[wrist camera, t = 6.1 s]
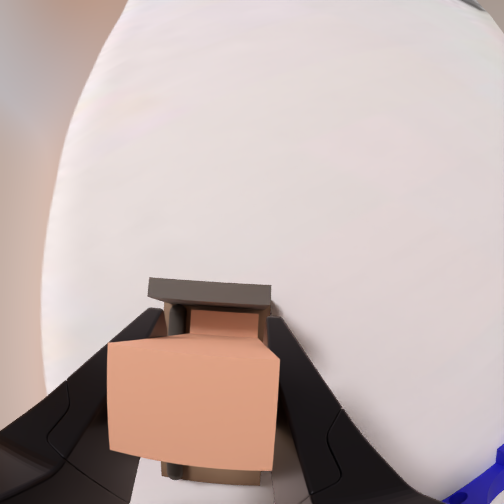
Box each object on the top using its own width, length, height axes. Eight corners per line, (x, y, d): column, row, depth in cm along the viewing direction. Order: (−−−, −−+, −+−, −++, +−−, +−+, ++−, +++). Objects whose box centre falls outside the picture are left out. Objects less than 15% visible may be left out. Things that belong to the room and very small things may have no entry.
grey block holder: (258, 476, 12) (263, 522, 8) (166, 468, 12) (142, 509, 8) (269, 297, 15) (279, 285, 10) (170, 291, 15) (141, 276, 10)
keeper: (253, 399, 12) (268, 512, 4) (191, 395, 12) (115, 491, 4) (257, 314, 13) (282, 295, 5) (195, 310, 13) (112, 283, 5)
